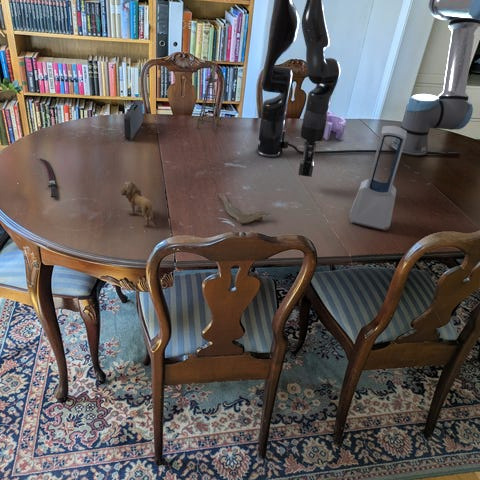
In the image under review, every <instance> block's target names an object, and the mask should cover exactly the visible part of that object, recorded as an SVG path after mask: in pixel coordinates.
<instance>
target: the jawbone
mask: <svg viewBox="0 0 480 480" xmlns="http://www.w3.org/2000/svg"><path fill="white" fill-rule="evenodd" d="M218 197H219V198H220V199H221V200H222V203H223V205H224V208H225V211H226V214H228V215H229V216H230V217H232V218H233V219H234V220H237V222H238V223H240V224H243V225H244V224H249V223H251V222H254V221H256V220H257V221H259V222H262V221H263V220H264V219H263V218H264V216H267V217H268V216H270V215H271V214H270V213H269V212H267V211H261V210H260V211H255V212H253V213H243V212H242V211H241V210H239V209H238V208H237V207H236V206H235V205H234V203H233V202H229V201H228V199H227V197H226V196H225V194H224V193H218Z"/></svg>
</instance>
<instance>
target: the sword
mask: <svg viewBox="0 0 480 480" xmlns="http://www.w3.org/2000/svg"><path fill="white" fill-rule="evenodd" d="M40 161H41V162H42V163H43V165H44V166H45V169H46V173H47V176H48V185H47V188H50V198H56V197H57V189H56V188H57V187H59V185H58V184H57V183H56V180H55V176H54V172H53V169H52V167H51V164H50V163H49V161H48V160H46V159H43V158H40Z"/></svg>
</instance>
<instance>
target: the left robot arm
mask: <svg viewBox="0 0 480 480" xmlns="http://www.w3.org/2000/svg"><path fill="white" fill-rule="evenodd" d="M304 5H305V6H304V9H303V11H302V12H303V13H302V17H301V31H302V35H303V40H304V44H305V47H306V50H305V51H306V52H305V70H306V76H307V77H308V80H309V81H310V82H311V83H312V84H314V85H316V86H315V87H314V88H313V89H311V90H309V92H308V94H307V99H306V104H305V110H304V113H303V118H302V124H301V130H300V137H301V138H302V139H303V140H306V141H304V144H303V151H302V150H300V149H298V147H297V146H296V145H294V144H293V143H290V142H289V141H288V140H286V139H285V136H286V130H284V128H285V122H286V115H287V108H288V101H289V95H290V90H291V85H292V80H293V71H292V68H291V67H288V66H279V65H276V63H277V62H278V60H279V59H280V58H281V57H282V56H283V55H284V54H285V53H286V52H287V51H288V50H289V49H290V48H291V47H292V46H293V45H294V43H295V41H296V40H297V36H298V31H299V27H300V14H299V12H298V9H297V7H296V6H295V4H294V1H293V0H273V7H272V13H271V19H270V24H269V30H268V40H267V50H266V55H265V60H264V64H263V68H262V69H263V70H262V74H261V79H260V84H261V89H262V90H263V91H264V92H266V93H274V94H278V95H276V96H275V97H272V98H269V99H266V100H264V101H263V102H262V105H261V114H260V123H259V131H258V137H257V138H256V143H257V148H256V153H257V154H258V155H259V156H262V157H264V158H265V157H266V158H277V157H279V156H281V155H282V154H283V150H286V149H288V148H289V147H290V148H293V149H294V150H295V151H296V153H298V154H301V155H302V158H303V160H304V163H303V165H304V166H303V171H302V175H303V176H302V177H308V175H309V170H310V167H311V166H312V161H314V159H315V155H316V154H317V155H318V154H322V155H323V154H344V153H346V154H348V153H349V154H350V153H376V151H377V149H344V150H343V149H341V150H317V142H321V141H323V140H324V138H323V137H324V132H325V127H326V122H327V113H328V111H329V106H330V102H331V98H332V95H333V94H334V92H335V89H336V87H337V84H338V82H339V79H340V75H341V67H340V64H339V63H340V62H338V61H337V59H336V58H333V57H326V58H325V51H326V49H328V48H329V46H330V37H329V32H328V27H327V23H326V19H325V13H324V4H323V0H306V1H305V4H304ZM379 151H380V149H379ZM396 151H397V150H393V149H382V150H381V153H395V154H396ZM446 152H447V151H446ZM446 152H444V151H427V153H426V155H440V156H441V155H442V156H443V155H445V156H446V155H447V156H460V155H461V153H460V154H453V153H454V152H448V153H446ZM306 161H310V162H306Z"/></svg>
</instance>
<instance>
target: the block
mask: <svg viewBox="0 0 480 480" xmlns="http://www.w3.org/2000/svg"><path fill="white" fill-rule="evenodd" d="M306 162H310V161H306ZM314 162H315V161H314V160H312V166H311V167H310V170H309V175H308V176H307V178H312V176H313V171H314V166H315V164H314ZM303 163H304V159H300V161H299V167H298V176H302V177H304V176H303V175H302V171H303V166H304V165H303Z"/></svg>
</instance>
